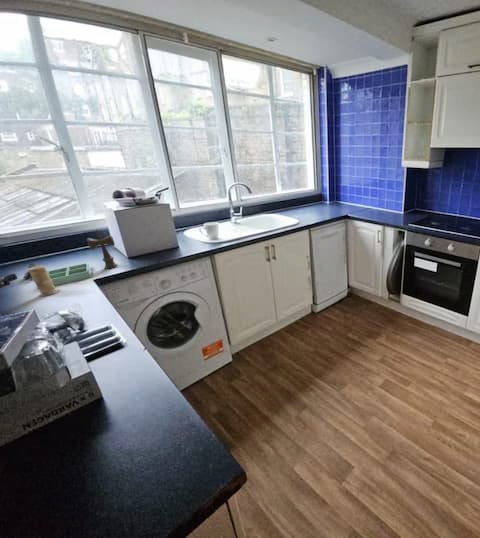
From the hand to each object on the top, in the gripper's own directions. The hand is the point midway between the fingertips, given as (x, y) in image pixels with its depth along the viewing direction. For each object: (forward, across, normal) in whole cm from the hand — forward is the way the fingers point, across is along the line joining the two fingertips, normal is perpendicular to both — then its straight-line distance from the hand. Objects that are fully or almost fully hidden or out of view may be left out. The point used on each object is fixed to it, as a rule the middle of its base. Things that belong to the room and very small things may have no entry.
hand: (4, 276), depth 110 cm
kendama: (+39, +5, -13) cm, 42 cm away
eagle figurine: (+28, -24, -13) cm, 40 cm away
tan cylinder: (+11, 0, -13) cm, 17 cm away
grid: (+28, -7, -13) cm, 32 cm away
